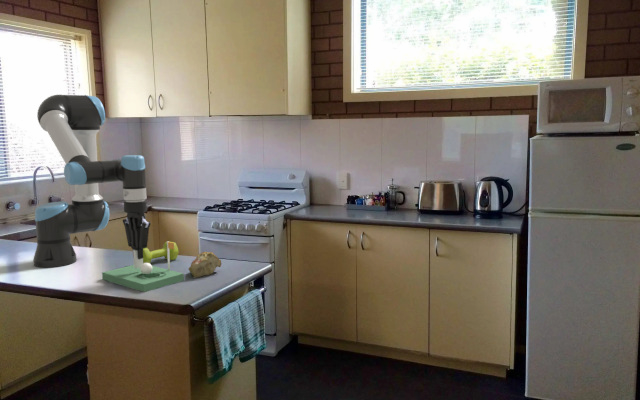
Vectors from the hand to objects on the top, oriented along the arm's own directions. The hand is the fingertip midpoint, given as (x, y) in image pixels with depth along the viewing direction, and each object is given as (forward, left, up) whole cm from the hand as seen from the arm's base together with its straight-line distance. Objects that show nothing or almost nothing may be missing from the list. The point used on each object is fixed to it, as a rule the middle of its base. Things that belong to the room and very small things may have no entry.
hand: (138, 267), depth 190 cm
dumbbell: (-14, +18, -5) cm, 23 cm away
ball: (+4, 0, 0) cm, 4 cm away
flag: (+8, +7, -4) cm, 12 cm away
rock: (+12, +18, -5) cm, 22 cm away
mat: (+2, 0, -4) cm, 5 cm away
